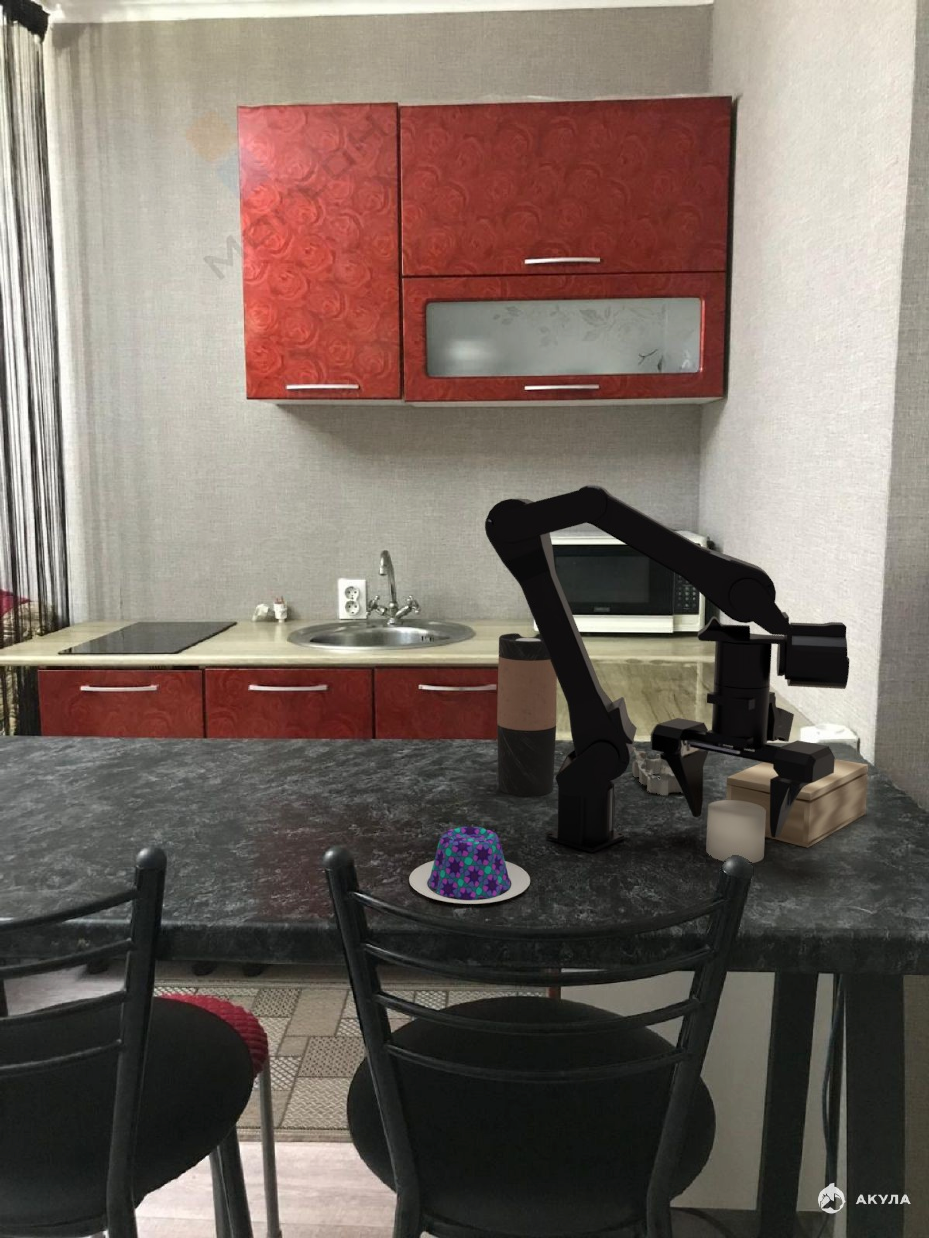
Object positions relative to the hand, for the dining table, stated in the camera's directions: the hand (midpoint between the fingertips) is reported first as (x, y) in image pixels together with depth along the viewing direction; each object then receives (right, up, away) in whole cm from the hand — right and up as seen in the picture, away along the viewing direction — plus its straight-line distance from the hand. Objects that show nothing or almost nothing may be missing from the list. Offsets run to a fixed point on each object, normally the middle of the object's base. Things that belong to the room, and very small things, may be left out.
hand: (735, 826), depth 106 cm
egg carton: (-2, 0, +26) cm, 26 cm away
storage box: (+10, -2, +11) cm, 15 cm away
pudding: (-29, -4, -8) cm, 30 cm away
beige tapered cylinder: (0, -3, 0) cm, 3 cm away
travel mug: (-21, 0, +23) cm, 31 cm away
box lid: (+10, +4, +11) cm, 15 cm away
